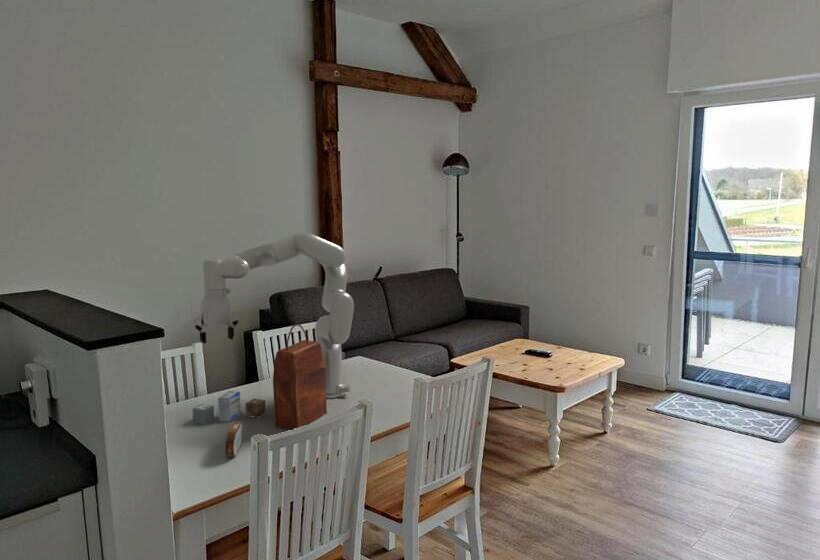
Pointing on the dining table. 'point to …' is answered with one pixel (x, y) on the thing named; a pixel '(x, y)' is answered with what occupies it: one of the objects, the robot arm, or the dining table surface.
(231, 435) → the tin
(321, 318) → the robot arm
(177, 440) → the dining table surface
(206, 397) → the dining table surface
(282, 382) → the handbag
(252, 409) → the walnut block
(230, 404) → the medicine box
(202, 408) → the slate-grey block
